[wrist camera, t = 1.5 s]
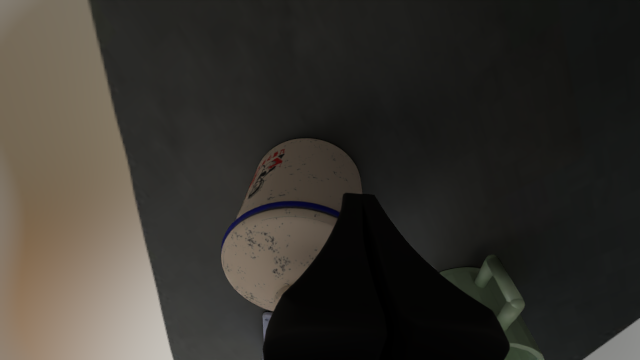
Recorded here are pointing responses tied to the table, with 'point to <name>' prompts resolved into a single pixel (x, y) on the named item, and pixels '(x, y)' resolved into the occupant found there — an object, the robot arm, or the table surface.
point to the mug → (498, 303)
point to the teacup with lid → (286, 217)
